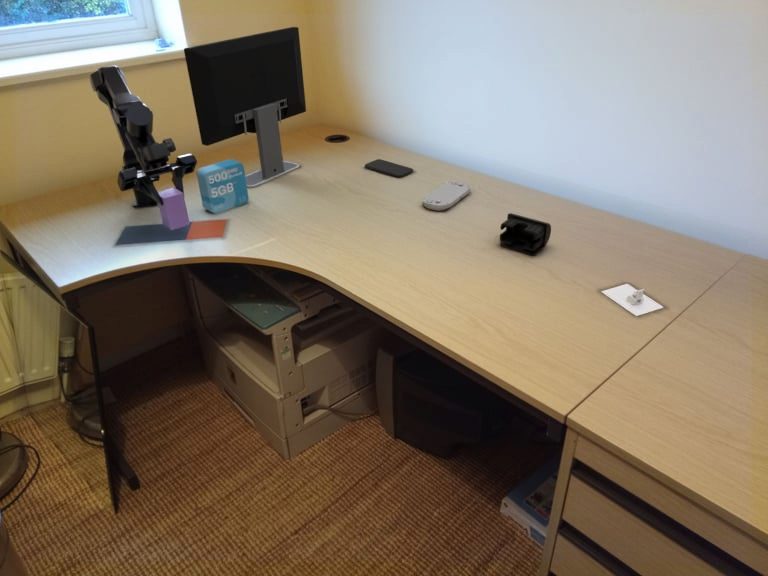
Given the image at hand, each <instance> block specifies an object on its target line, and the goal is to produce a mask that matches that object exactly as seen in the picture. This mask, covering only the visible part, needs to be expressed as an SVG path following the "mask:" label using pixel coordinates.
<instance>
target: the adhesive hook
mask: <svg viewBox="0 0 768 576" xmlns="http://www.w3.org/2000/svg"><path fill="white" fill-rule="evenodd" d="M644 291H645V288H643V289H636V290H635V291H634V292H633V293H631V294H629V295H628V296H627V297H626V298H625V300H626V301H628V302H629V303H630V304H631V305H641V304H643V303H644V302H645V298H644V295H645V294H644Z"/></svg>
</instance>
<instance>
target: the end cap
mask: <svg viewBox="0 0 768 576" xmlns="http://www.w3.org/2000/svg"><path fill="white" fill-rule="evenodd" d="M499 227H500V230H501V231H503V230H504V229H505V230H504V231H503V232H501V233H500V234H499V241H500V242H499V247H501V248H505V249H508V250H510V251H515V252H518V253H521V254H524V255H527V256H531V257H535V256H537V255H538V254H539V253H540V252H541V251H542V250H543V249H544V248H545V247H546V246H547V244H548V242H549V240H550V238H551V233H552V225H551V224H550V223H549V222H546V221H543V220H537V219H535V218H530V217H527V216H523V215H519V214H516V213H512V212H510V213H508V214H507V217H506V220H505V221H503V222H502V223H501V224H500V226H499Z"/></svg>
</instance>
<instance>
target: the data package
mask: <svg viewBox="0 0 768 576" xmlns="http://www.w3.org/2000/svg"><path fill="white" fill-rule="evenodd" d="M245 176H246V171H245V166H244V164H243V163H242V162H241V161H237V160H235V159H232V158H229V159H226V160H225V159H224V160H222V161H219V162H215V163H212V164H209V165H205V166H202V167H199V168H198V169H197V171H196V178H197V183H198V189H199V193H200V198H201V203H202V207H203V209H205V210H207V211H208V212H210V213H212V214H219V213H221V212H224V211H226V210H230V209H233V208H236V207H240V206H242V205H244V204H246V203H247V202H248V201H249V192H248V187H247V184H246V178H245Z"/></svg>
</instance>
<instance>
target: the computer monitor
mask: <svg viewBox="0 0 768 576" xmlns="http://www.w3.org/2000/svg"><path fill="white" fill-rule="evenodd" d="M300 40H301V39H300V30H299V27H298V26H290V27H285V28H279V29H276V30H271V31H270V30H269V31H264V32H259V33H255V34H250V35H246V36H244V35H243V36H240V37H239V36H238V37H235V38H229V39H225V40H224V39H223V40H219V41H213V42H209V43H205V44H199V45H195V46H189V47H185V48H184V49H183V53H184V58H185V63H186V68H187V74H188V78H189V79H188V80H189V83H190V84H189V85H190V90H191V95H192V100H193V106H194V110H195V115H196V120H197V125H198V130H199V137H200V141H201V145H202V146H206V147H209V146H211V145H214V144H217V143H220V142H223V141H226V140H228V139H231V138H235V137H237V136H240V135H243V134H244V136H247V135H248V133H249V134H256V141H257V147H258V155H259V156H258V157H259V163H260V169H259V170H255V171H253V172H251V173H249V174H245V178H246V184H247V188H256V187H258V186H260V185H262V184H265V183H266V182H269V181H272V180H274V179H276V178H279V177H280V176H282V175H285V174H287V173H290V172H292V171H294V170H296V169H299V167H300V164H299V163H296V162H292V161H287V160H284V158H283V150H282V142H281V134H280V126H279V124H282V121H283V120H286V119H289V118H292V117H295V116H297V115H300V114H304V113H306V112H307V105H306V94H305V84H304V73H303V72H304V71H303V61H302V52H301V51H302V50H301V41H300Z"/></svg>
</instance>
